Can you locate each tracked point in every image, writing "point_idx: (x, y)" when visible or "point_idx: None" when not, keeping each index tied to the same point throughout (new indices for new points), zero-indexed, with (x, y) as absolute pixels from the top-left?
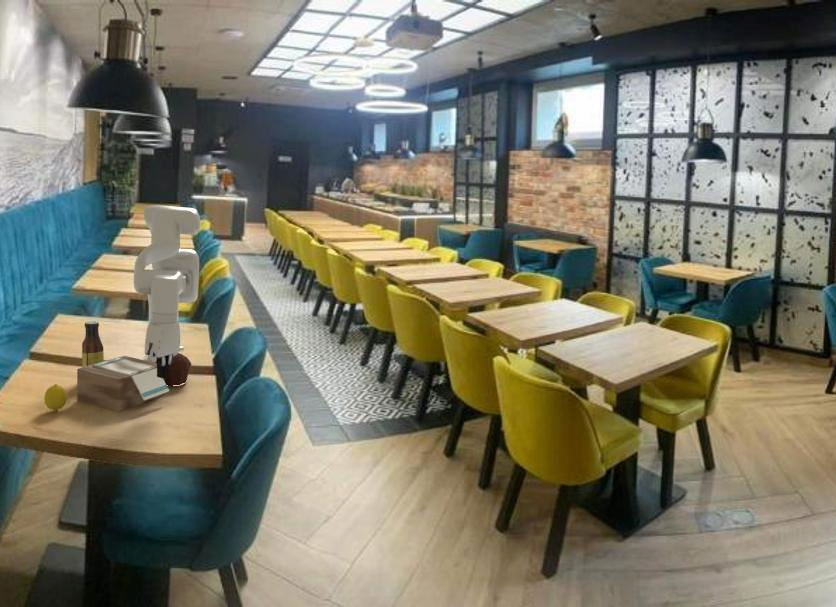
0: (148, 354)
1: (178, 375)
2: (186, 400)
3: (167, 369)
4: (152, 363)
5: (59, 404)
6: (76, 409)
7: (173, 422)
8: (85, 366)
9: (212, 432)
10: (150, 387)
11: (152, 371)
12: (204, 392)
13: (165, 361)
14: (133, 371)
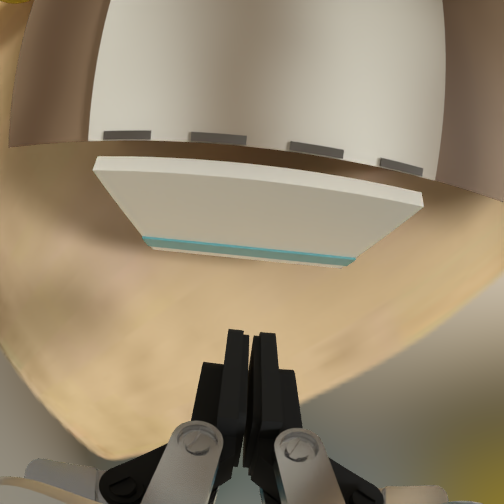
0: (48, 495)
1: None
2: (375, 288)
3: (244, 442)
4: (497, 99)
5: (13, 3)
6: None
7: (157, 364)
8: None
9: None
10: (228, 237)
11: (348, 203)
12: (463, 289)
13: (264, 481)
14: (174, 98)
